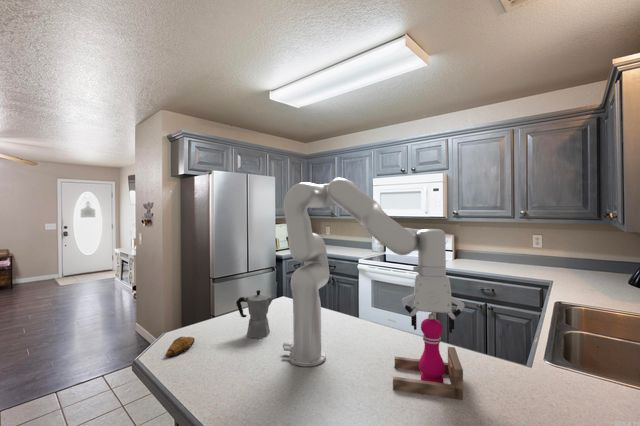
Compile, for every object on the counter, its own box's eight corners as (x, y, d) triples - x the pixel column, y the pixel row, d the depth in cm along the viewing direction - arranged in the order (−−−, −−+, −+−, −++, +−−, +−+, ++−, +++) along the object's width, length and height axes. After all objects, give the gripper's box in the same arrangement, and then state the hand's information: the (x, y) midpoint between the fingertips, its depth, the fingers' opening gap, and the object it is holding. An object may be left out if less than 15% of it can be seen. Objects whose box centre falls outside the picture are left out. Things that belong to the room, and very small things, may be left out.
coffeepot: (273, 328, 131) (273, 286, 131) (275, 337, 122) (275, 292, 122) (237, 331, 128) (236, 288, 128) (235, 340, 118) (235, 294, 118)
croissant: (176, 359, 103) (176, 345, 103) (159, 357, 105) (159, 343, 105) (201, 343, 116) (201, 330, 116) (186, 341, 118) (186, 328, 118)
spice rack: (392, 389, 85) (392, 361, 85) (394, 365, 98) (394, 340, 98) (463, 400, 80) (462, 369, 80) (454, 373, 93) (454, 347, 93)
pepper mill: (447, 390, 84) (447, 318, 84) (420, 387, 86) (420, 317, 86) (442, 376, 91) (442, 310, 91) (417, 374, 93) (417, 309, 93)
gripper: (401, 272, 87) (401, 331, 87) (466, 275, 83) (467, 338, 82) (401, 267, 94) (401, 322, 94) (461, 270, 90) (462, 328, 90)
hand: (432, 329), depth 88 cm, fingers open, 9 cm apart
